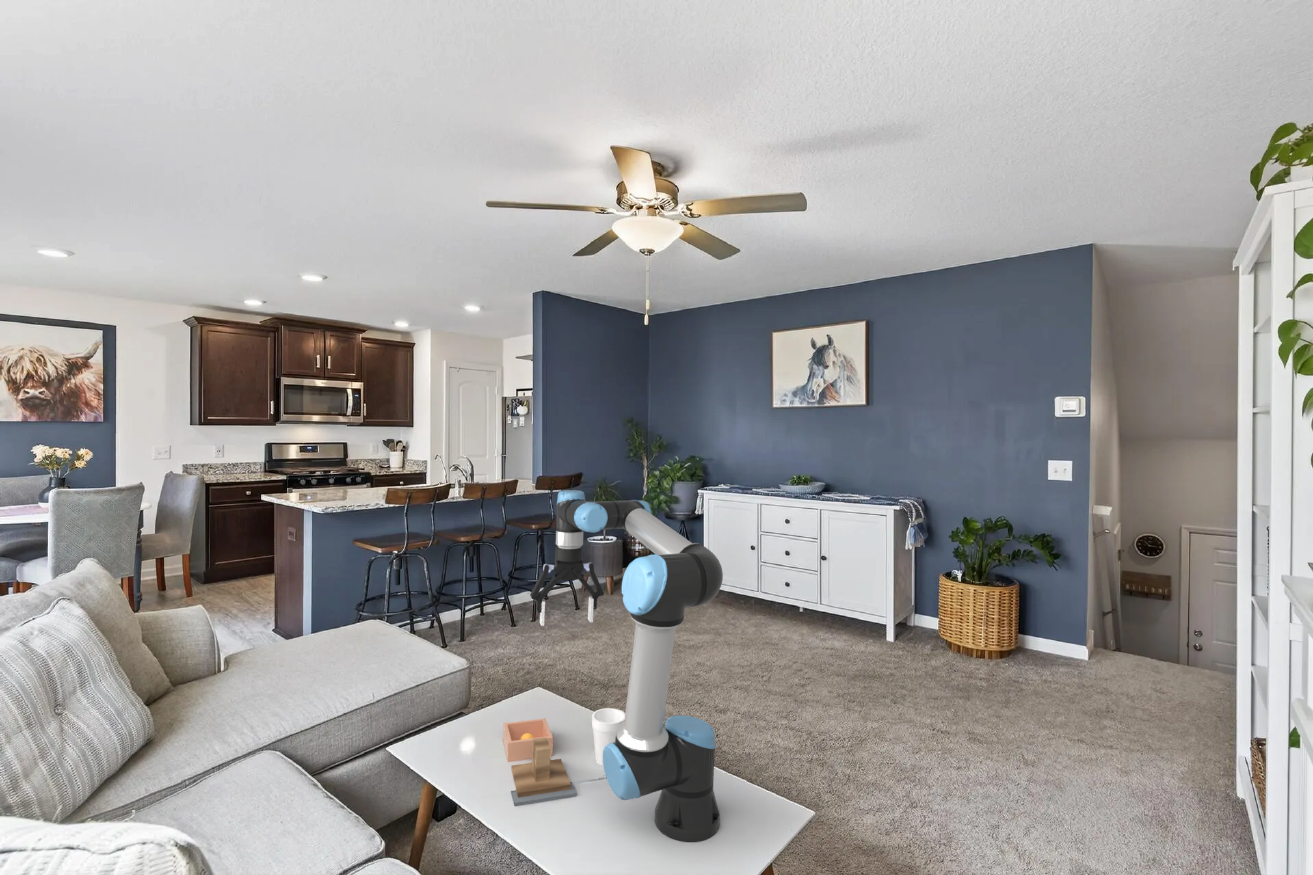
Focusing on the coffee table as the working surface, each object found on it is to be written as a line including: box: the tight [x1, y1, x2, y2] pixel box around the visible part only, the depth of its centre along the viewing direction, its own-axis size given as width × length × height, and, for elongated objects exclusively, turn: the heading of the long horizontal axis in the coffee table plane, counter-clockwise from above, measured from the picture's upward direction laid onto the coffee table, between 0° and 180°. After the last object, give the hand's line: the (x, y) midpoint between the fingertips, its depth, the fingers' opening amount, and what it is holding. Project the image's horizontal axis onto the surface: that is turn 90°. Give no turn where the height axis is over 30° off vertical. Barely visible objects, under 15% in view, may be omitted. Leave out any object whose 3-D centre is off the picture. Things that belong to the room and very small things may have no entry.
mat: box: [510, 781, 577, 807], centre depth 161 cm, size 17×15×1 cm
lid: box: [511, 737, 571, 798], centre depth 161 cm, size 13×13×9 cm
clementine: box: [520, 733, 534, 740], centre depth 176 cm, size 4×4×4 cm
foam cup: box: [591, 707, 625, 767], centre depth 172 cm, size 10×9×13 cm
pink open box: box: [502, 718, 554, 763], centre depth 176 cm, size 12×12×6 cm
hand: (566, 622), depth 175 cm, fingers open, 13 cm apart
